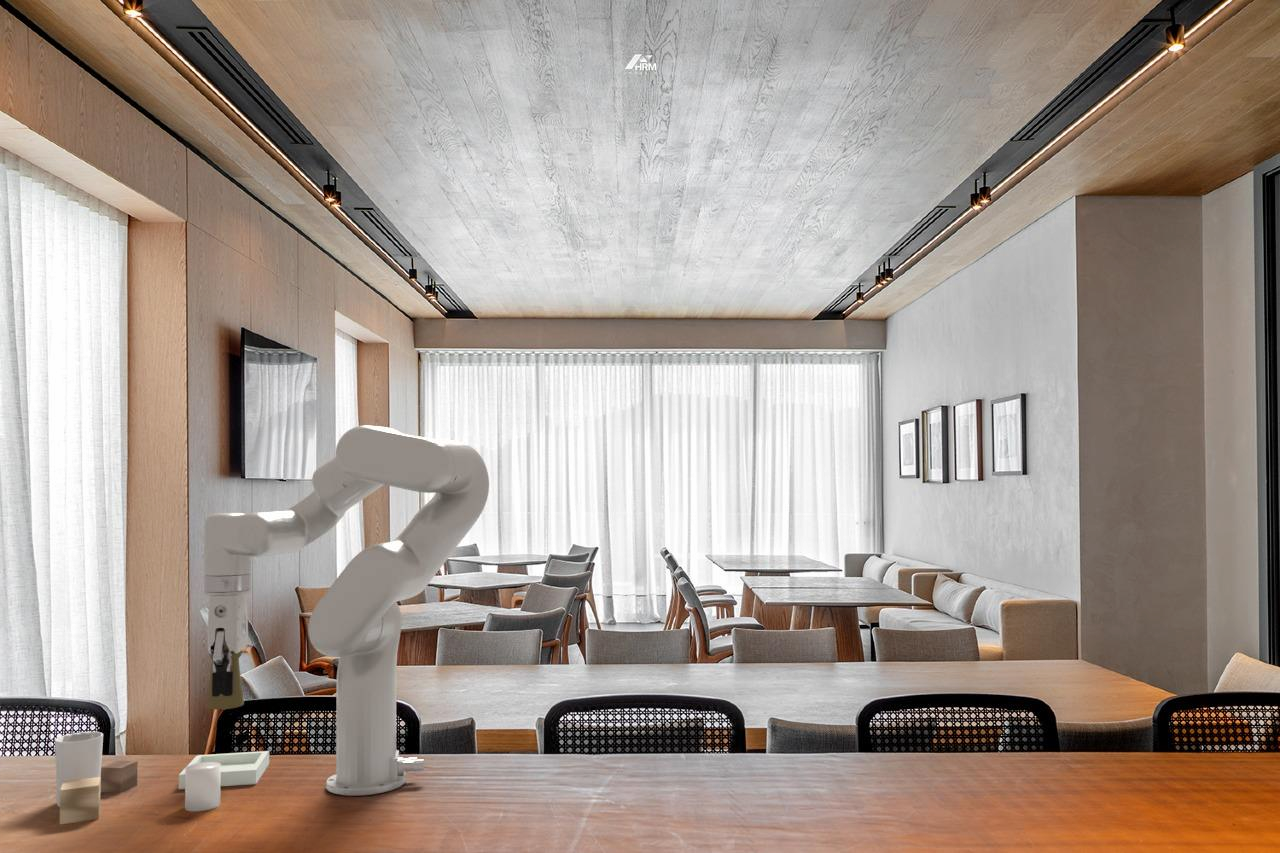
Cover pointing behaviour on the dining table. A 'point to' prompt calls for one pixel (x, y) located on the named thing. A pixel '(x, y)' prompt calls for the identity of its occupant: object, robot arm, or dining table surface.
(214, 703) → the olive rounded tall piece
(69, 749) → the drinking glass
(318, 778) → the dining table surface
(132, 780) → the walnut block
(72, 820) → the oak block
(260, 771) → the tray
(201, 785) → the white rounded cylinder
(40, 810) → the dining table surface
